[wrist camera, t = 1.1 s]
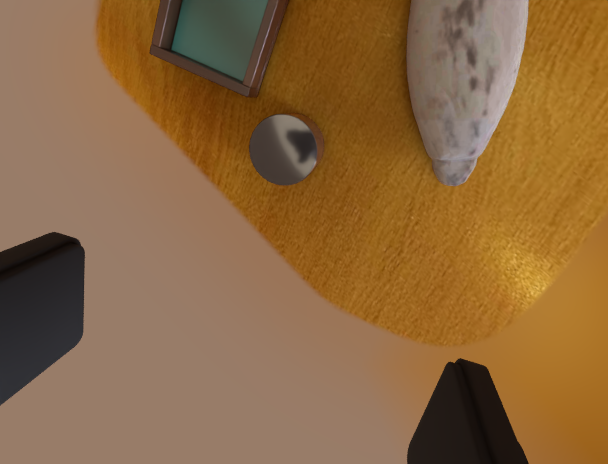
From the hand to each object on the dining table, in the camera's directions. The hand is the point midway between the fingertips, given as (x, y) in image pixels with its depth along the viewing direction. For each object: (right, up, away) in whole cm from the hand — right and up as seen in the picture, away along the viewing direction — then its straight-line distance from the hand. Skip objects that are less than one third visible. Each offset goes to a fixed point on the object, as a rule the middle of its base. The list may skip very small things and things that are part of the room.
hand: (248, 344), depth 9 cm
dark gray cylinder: (+1, +9, +17) cm, 19 cm away
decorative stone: (+11, +14, +13) cm, 22 cm away
